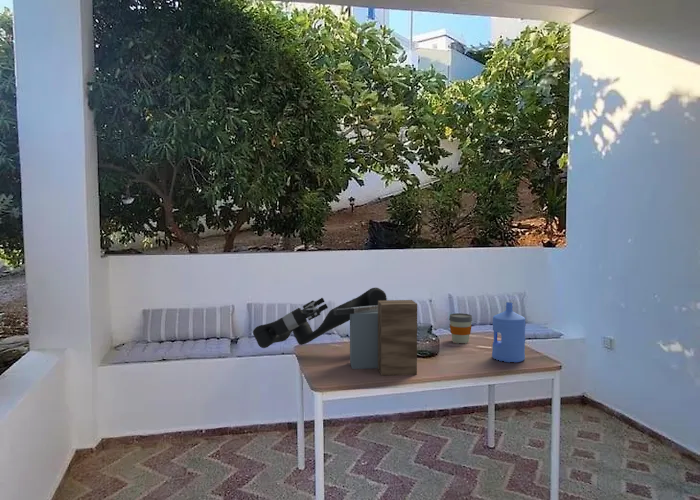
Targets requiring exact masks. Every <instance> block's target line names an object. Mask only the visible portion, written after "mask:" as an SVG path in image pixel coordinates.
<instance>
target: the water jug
mask: <svg viewBox="0 0 700 500" xmlns="http://www.w3.org/2000/svg"><path fill="white" fill-rule="evenodd" d="M505 304H506V305H505V310H504V311H502V312H500V313H497V314H495V315H493V316H492V330H493V342H492V349H491V350H492V351H491V357H492V359H494V360H495V359H496V360H495V361H498V360H499V361H498V362H502V361H504V362H503V363H510V362H514V363H521V362H523V361H525V359H526V355H525V354H526V351H525V348H526V317H524V316H523V315H521V314H519V313H517V312H515V311H513V304H514V303H513V302H511V301H506V303H505ZM498 333H499V334H500V335H501V336H500V337H501V338H500V339H501V340H498Z"/></svg>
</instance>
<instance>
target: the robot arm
mask: <svg viewBox="0 0 700 500" xmlns="http://www.w3.org/2000/svg"><path fill="white" fill-rule="evenodd" d="M383 300H388V298H387V294H386V292H385V291H384V290H383V289H381V288H379V287H372V288H371V287H370V288H369V289H368V290H366V291H365V292H364V293H362V294H360V295H358V296H356V298H354V299H351V300H349V301H347V302H344V303H341V304H339V305H337V306H336V307H333V308H332V309H331V310H329V311H328V313H327V314H326V316H325V317H324V319H323V321H322V323H321V324H320V325H319V326H318V327H317V328H316V329H315V330H313V329H312V327H311V325H310V323H309V322H308V321H312V320H313V319H315V318H317V317H318V316H321V313H322V312H323V311H325V310H327V309H328V305H327V304H326V303H325V299H324V298H323V297H321V298H318V299H317V300H311V301H309V302H308V303H306V304H304V305H303V306H302V309H301V307H298V308H296V309H294V310H292V311H290V312H288V313H287V314H285V315H284V316H282V317H281V318H278V319H277V320H275V321H273V322H269V323H266V324H261V325H258V326H256V327H255V328H254V329H253V330H252V334H253V336H254V339H255V340H256V343H257V345H258V346H259V347H260V348H261V349H266V348H268V347H270V346H271V345H273V344H276V343H283V342H284V341H287V339H288V338H289V337H290V336H291V334H292V333H293V335H294V338H295V340H296V341H297V344H298V345H300V346H303V345H306V344H309V343H310V342H312V341H314V340H315V339H317V338H319V337H320V336H322V335H324V334H325V333H327V332H329V331H330V330H333V329H335V328H338V327H339V326H342V325H344V324H346V323H347V322H350V314H345V315H334V309H340V308H351V307H362V306H373V305H378V301H383ZM318 306H319V307H318ZM307 319H308V320H307Z"/></svg>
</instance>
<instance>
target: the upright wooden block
mask: <svg viewBox="0 0 700 500" xmlns="http://www.w3.org/2000/svg"><path fill="white" fill-rule="evenodd" d="M377 369H378V373H380V376H381V377H382V376H384V377H387V376H389V377H390V376H410V375H411V376H414V375H418V303H417V302H415V301H414V300H413V299H396V300H394V299H393V300H388V299H387V300H383V301H378V368H377Z"/></svg>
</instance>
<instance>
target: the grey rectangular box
mask: <svg viewBox="0 0 700 500" xmlns="http://www.w3.org/2000/svg"><path fill="white" fill-rule="evenodd" d="M349 364H350V367H351V369H352V370H361V369H362V370H365V369H378V311H376V312H366V313H356V314H350V320H349Z"/></svg>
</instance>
